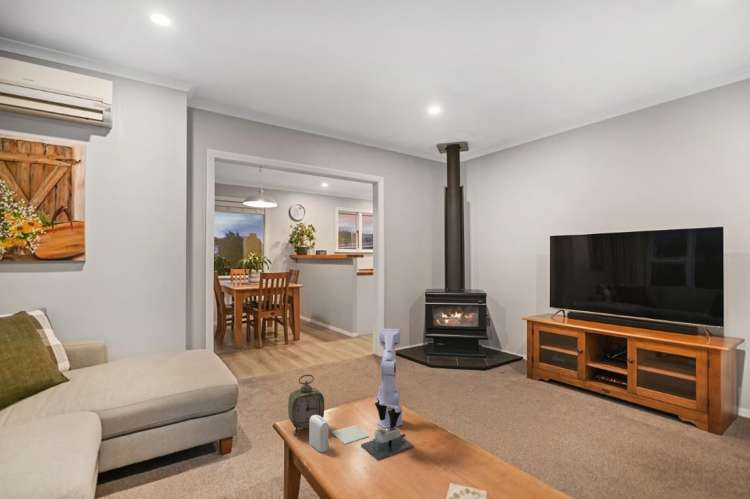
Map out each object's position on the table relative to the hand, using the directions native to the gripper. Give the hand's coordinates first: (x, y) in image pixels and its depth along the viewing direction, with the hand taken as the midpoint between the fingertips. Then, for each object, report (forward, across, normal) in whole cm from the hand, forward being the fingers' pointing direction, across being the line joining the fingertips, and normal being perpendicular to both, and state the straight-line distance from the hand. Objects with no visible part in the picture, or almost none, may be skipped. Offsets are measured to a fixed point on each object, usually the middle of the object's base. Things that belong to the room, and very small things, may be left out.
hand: (387, 423), depth 155 cm
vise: (+10, 0, 0) cm, 10 cm away
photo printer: (+10, -15, -24) cm, 30 cm away
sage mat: (+10, -17, -8) cm, 21 cm away
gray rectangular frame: (+6, 0, 0) cm, 6 cm away
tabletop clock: (+10, -31, -23) cm, 40 cm away
